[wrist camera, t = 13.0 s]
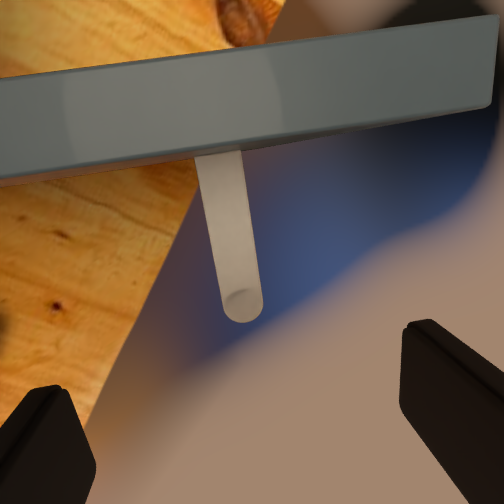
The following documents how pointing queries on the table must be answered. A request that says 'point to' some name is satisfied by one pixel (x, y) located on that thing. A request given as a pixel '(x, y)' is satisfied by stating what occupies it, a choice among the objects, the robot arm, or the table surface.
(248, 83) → the cupboard door
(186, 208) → the table surface
